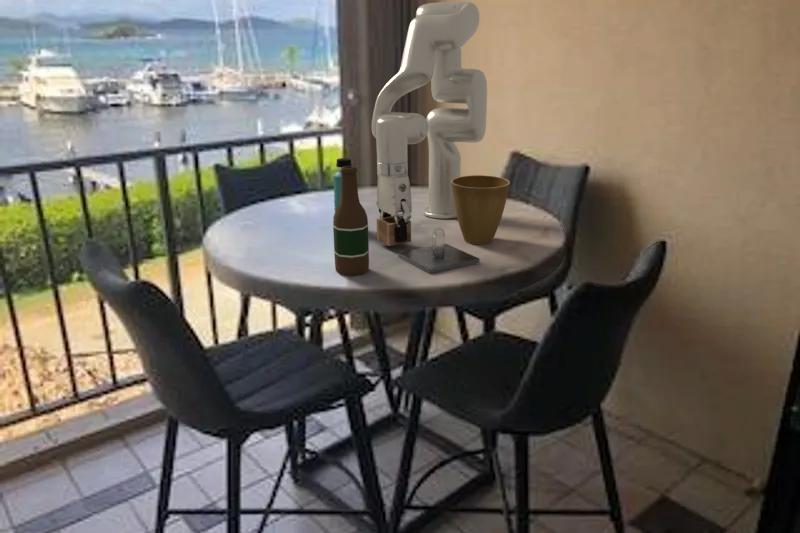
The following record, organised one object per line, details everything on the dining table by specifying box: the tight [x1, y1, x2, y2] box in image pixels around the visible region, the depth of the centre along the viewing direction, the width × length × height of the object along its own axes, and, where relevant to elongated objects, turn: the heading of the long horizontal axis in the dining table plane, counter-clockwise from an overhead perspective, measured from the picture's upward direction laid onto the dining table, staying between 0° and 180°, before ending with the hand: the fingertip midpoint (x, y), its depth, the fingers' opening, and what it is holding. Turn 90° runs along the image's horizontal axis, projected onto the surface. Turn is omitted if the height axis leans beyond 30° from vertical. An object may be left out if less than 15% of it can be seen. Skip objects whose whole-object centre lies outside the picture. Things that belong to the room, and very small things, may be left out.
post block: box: [397, 227, 481, 275], centre depth 149 cm, size 14×14×8 cm
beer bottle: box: [332, 165, 370, 277], centre depth 140 cm, size 8×8×24 cm
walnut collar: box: [376, 215, 412, 247], centre depth 160 cm, size 6×6×6 cm
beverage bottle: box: [332, 157, 353, 212], centre depth 173 cm, size 6×7×20 cm
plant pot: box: [451, 174, 511, 245], centre depth 163 cm, size 15×15×16 cm
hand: (393, 237), depth 161 cm, fingers closed on walnut collar, 6 cm apart
